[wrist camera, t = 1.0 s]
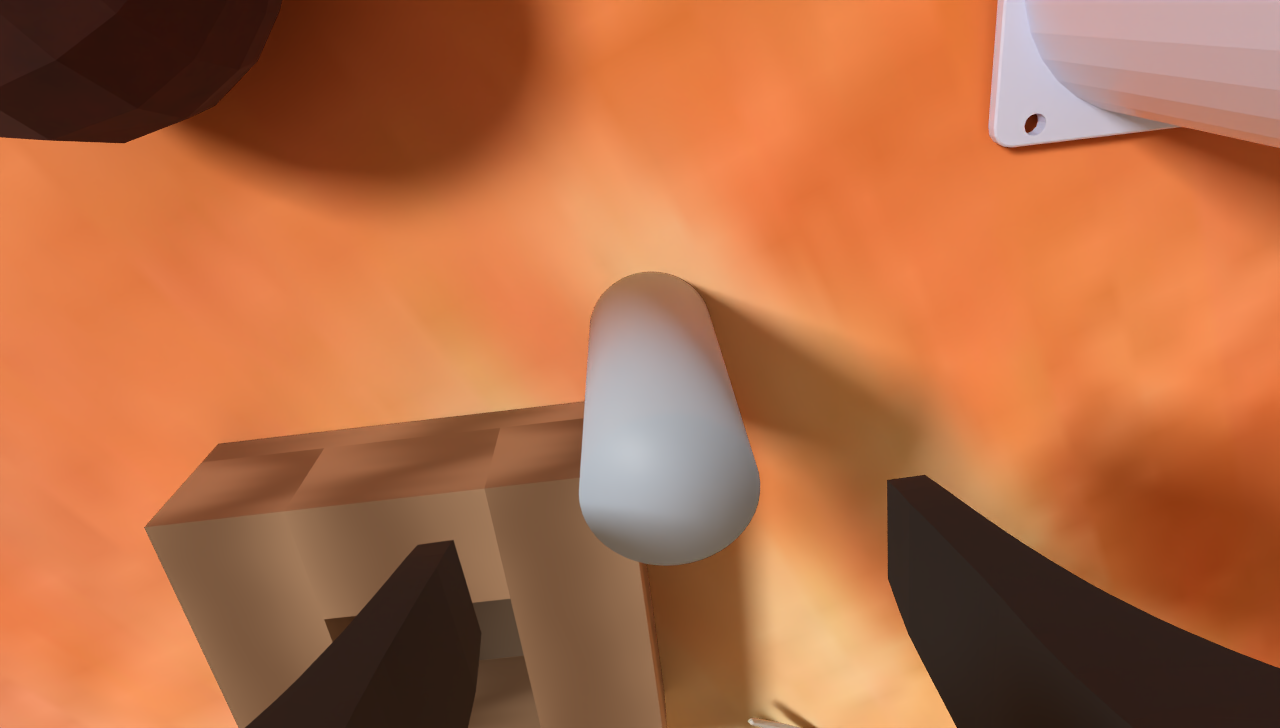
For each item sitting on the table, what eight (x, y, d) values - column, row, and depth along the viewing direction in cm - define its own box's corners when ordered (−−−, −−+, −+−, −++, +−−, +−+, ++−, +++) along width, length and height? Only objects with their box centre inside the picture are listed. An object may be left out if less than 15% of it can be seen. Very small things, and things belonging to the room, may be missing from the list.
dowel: (706, 265, 21) (755, 402, 14) (715, 377, 22) (763, 555, 15) (581, 279, 21) (566, 424, 14) (598, 390, 23) (592, 574, 15)
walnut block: (623, 396, 23) (626, 472, 19) (664, 693, 28) (672, 797, 24) (218, 443, 23) (144, 527, 19) (332, 729, 28) (291, 838, 24)
